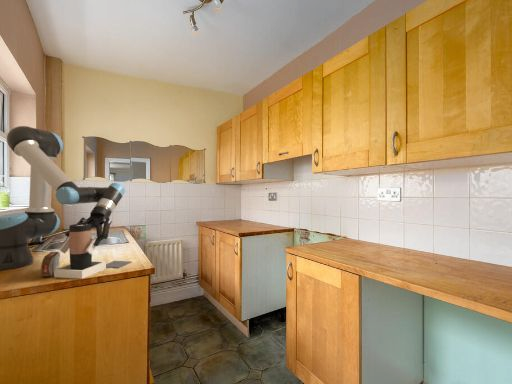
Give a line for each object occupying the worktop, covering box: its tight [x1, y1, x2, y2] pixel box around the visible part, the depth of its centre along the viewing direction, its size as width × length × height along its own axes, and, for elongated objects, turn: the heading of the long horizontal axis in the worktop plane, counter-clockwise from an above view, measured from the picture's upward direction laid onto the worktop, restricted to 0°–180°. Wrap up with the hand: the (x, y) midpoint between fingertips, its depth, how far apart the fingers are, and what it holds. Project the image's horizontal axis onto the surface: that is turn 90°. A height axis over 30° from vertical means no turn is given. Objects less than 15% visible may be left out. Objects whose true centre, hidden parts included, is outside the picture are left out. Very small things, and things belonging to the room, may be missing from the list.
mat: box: [106, 260, 132, 269], centre depth 118 cm, size 9×9×1 cm
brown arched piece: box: [40, 251, 61, 278], centre depth 106 cm, size 15×3×8 cm, turn 24°
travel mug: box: [68, 223, 93, 270], centre depth 107 cm, size 8×8×20 cm
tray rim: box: [53, 260, 107, 280], centre depth 107 cm, size 13×13×3 cm
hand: (75, 252), depth 104 cm, fingers open, 11 cm apart
